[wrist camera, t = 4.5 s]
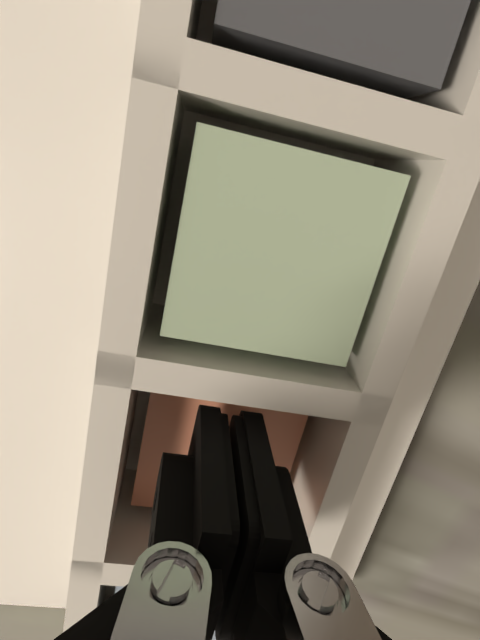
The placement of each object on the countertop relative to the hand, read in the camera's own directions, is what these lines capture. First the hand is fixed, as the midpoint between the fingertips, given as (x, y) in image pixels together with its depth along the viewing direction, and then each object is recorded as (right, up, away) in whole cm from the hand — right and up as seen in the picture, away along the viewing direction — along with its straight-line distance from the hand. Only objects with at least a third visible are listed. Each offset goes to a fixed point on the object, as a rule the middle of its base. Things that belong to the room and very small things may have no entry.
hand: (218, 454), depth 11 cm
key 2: (+1, +6, -1) cm, 6 cm away
